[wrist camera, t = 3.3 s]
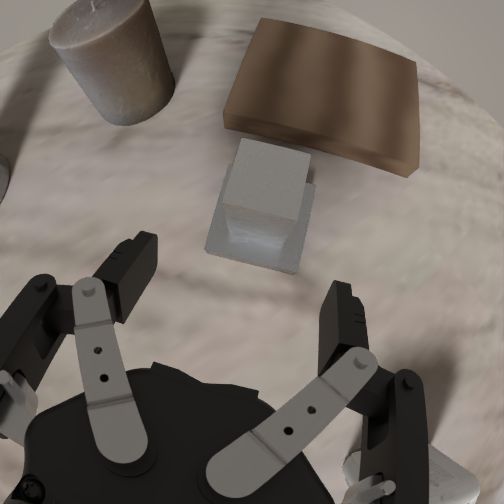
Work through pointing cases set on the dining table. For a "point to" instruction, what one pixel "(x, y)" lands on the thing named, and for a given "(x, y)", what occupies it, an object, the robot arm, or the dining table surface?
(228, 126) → the walnut plinth
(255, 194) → the block
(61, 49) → the pillar candle
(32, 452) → the robot arm
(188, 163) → the dining table surface
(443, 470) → the photo printer
